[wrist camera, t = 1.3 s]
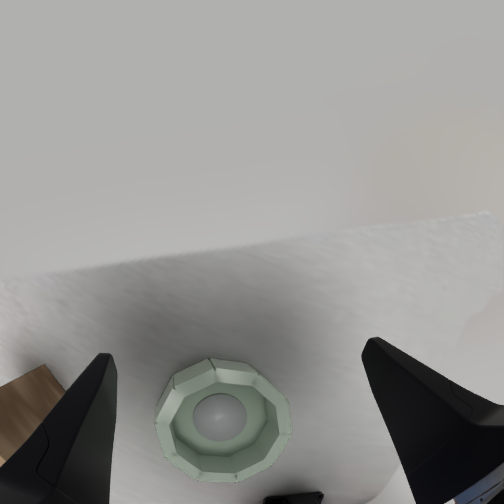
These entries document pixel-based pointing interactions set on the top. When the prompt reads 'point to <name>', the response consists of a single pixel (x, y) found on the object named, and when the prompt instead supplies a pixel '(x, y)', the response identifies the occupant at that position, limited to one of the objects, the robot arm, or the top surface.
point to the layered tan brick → (25, 407)
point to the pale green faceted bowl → (222, 421)
